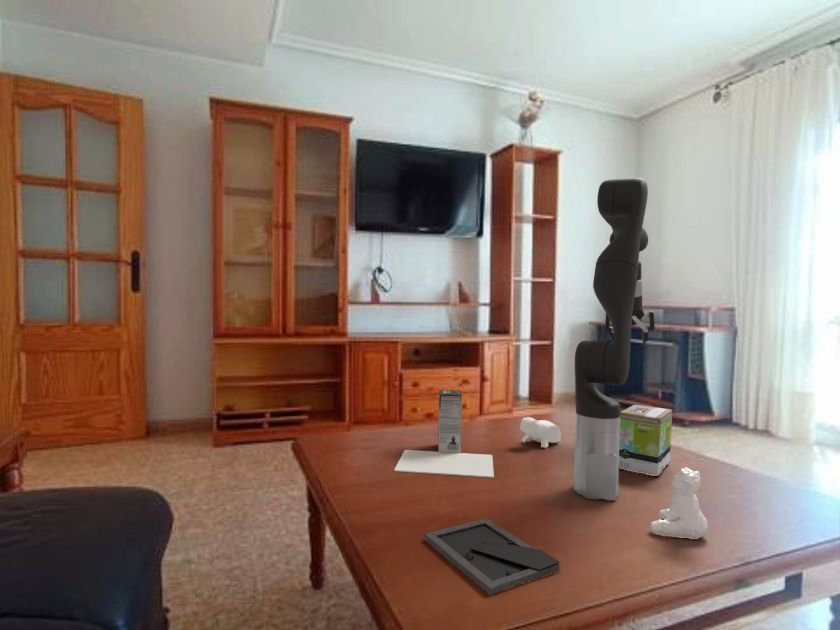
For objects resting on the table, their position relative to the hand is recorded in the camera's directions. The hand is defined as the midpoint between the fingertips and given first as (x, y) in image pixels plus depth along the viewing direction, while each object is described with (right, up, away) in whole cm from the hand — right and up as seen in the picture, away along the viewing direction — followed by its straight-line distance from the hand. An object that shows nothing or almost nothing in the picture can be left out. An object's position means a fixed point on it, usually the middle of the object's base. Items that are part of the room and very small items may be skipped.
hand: (629, 342), depth 152 cm
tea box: (-9, -31, -29) cm, 43 cm away
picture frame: (-56, -31, -75) cm, 99 cm away
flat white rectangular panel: (-60, -29, -30) cm, 73 cm away
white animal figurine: (-32, -30, -11) cm, 45 cm away
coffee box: (-59, -29, -17) cm, 68 cm away
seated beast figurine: (-20, -31, -66) cm, 75 cm away
